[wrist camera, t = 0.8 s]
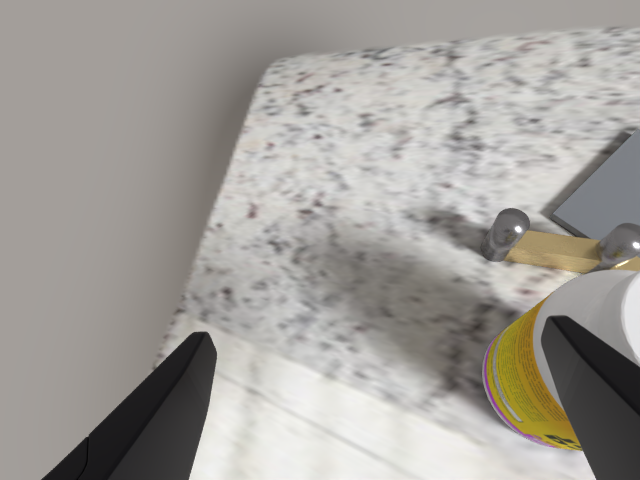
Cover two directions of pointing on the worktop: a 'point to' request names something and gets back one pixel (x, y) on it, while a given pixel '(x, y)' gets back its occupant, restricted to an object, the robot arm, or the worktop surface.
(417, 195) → the worktop surface
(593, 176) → the slate coaster
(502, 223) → the bent rail
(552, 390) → the supplement bottle
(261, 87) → the worktop surface
